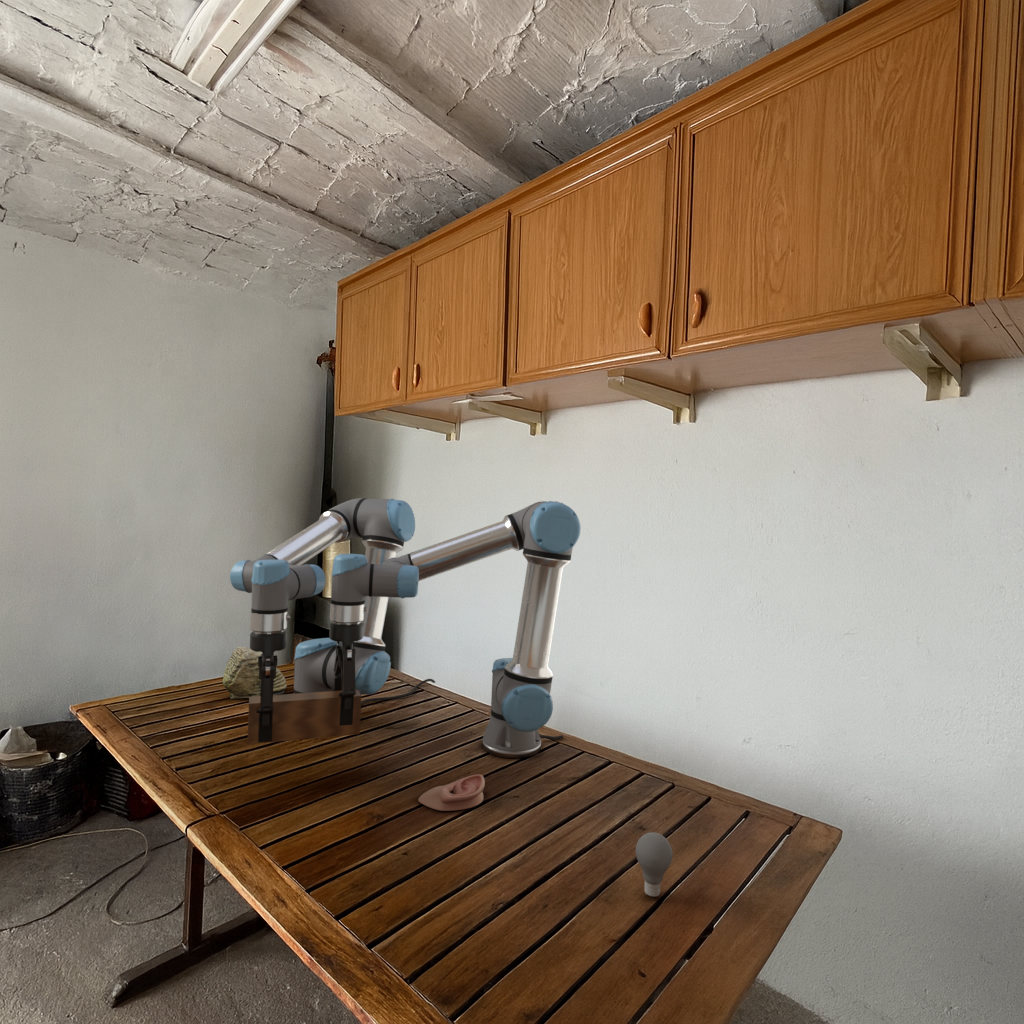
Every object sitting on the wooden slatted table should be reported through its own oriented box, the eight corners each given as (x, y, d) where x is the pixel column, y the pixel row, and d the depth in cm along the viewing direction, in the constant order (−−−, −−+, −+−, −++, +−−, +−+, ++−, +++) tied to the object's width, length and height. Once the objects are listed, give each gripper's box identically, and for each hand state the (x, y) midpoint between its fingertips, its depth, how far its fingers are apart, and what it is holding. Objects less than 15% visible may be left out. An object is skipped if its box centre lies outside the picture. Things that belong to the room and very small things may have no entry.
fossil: (218, 695, 195) (220, 647, 195) (278, 685, 208) (279, 640, 207) (228, 703, 189) (230, 653, 188) (289, 692, 201) (290, 645, 201)
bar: (247, 744, 135) (248, 703, 135) (248, 736, 140) (249, 696, 140) (359, 734, 144) (361, 695, 144) (356, 726, 148) (358, 689, 148)
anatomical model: (413, 788, 131) (431, 765, 142) (412, 807, 131) (431, 783, 142) (475, 796, 128) (489, 773, 139) (474, 816, 128) (488, 791, 139)
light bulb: (629, 883, 108) (632, 825, 107) (663, 883, 108) (666, 825, 108) (639, 906, 102) (642, 844, 101) (675, 905, 102) (678, 844, 102)
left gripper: (288, 639, 131) (284, 750, 132) (285, 622, 148) (282, 720, 149) (249, 640, 129) (245, 754, 129) (251, 623, 145) (247, 723, 146)
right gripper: (372, 633, 134) (367, 732, 135) (356, 611, 157) (352, 696, 158) (335, 634, 131) (330, 735, 132) (325, 612, 155) (320, 698, 155)
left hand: (265, 736), depth 139 cm, fingers closed on bar, 5 cm apart
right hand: (342, 714), depth 145 cm, fingers open, 13 cm apart
